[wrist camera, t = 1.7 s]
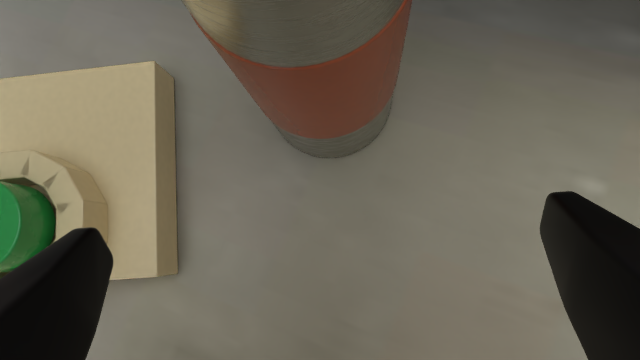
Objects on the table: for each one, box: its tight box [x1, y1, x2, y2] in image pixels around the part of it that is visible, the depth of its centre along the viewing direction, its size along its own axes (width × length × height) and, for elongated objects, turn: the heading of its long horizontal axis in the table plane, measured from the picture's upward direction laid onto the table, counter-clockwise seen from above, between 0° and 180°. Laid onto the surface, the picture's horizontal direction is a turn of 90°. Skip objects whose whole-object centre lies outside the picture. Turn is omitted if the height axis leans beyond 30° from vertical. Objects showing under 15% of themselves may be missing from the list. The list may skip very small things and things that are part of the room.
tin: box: [181, 0, 412, 158], centre depth 15 cm, size 6×6×14 cm
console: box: [0, 61, 178, 280], centre depth 20 cm, size 11×11×4 cm
